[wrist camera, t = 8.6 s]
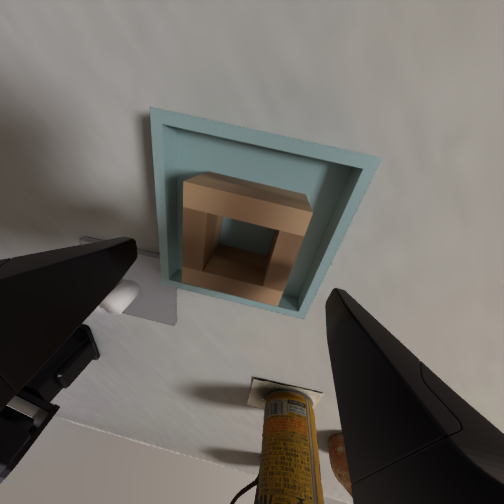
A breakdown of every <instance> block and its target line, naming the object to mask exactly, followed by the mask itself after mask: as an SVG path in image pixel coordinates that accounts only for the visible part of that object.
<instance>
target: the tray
mask: <svg viewBox="0 0 504 504" xmlns="http://www.w3.org/2000/svg"><path fill="white" fill-rule="evenodd" d="M150 122H151V136H152V151H153V165H154V180H155V194H156V209H157V223H158V238H159V252H160V267H161V281H162V284H163V285H167V286H172V287H176V288H180V289H184V290H188V291H192V292H196V293H200V294H204V295H208V296H212V297H216V298H220V299H224V300H228V301H232V302H236V303H240V304H244V305H248V306H252V307H256V308H260V309H264V310H268V311H272V312H276V313H280V314H284V315H288V316H292V317H296V318H300V319H304V318H305V316H306V314H307V312H308V310H309V308H310V306H311V304H312V302H313V300H314V298H315V295H316V293H317V291H318V289H319V287H320V285H321V283H322V281H323V279H324V277H325V275H326V273H327V271H328V269H329V267H330V265H331V263H332V260H333V258H334V256H335V254H336V252H337V250H338V248H339V246H340V244H341V242H342V240H343V238H344V236H345V234H346V232H347V230H348V228H349V226H350V223H351V221H352V219H353V217H354V215H355V213H356V211H357V209H358V207H359V205H360V203H361V201H362V199H363V197H364V195H365V193H366V191H367V189H368V186H369V184H370V182H371V180H372V178H373V176H374V174H375V172H376V170H377V168H378V166H379V164H380V162H381V160H382V158H381V157H376V156H372V155H367V154H363V153H358V152H353V151H349V150H344V149H340V148H335V147H331V146H326V145H322V144H317V143H313V142H308V141H304V140H299V139H294V138H290V137H285V136H281V135H276V134H272V133H267V132H263V131H258V130H254V129H249V128H244V127H240V126H235V125H231V124H226V123H222V122H217V121H213V120H208V119H204V118H199V117H194V116H190V115H185V114H181V113H176V112H172V111H167V110H163V109H158V108H154V107H150ZM209 171H210V172H214V173H219V174H223V175H227V176H231V177H235V178H240V179H244V180H248V181H252V182H256V183H261V184H265V185H269V186H273V187H277V188H281V189H286V190H290V191H294V192H298V193H302V194H306V196H307V199H308V201H309V203H310V206H311V208H312V211H313V215H312V217H311V220H310V223H309V225H308V228H307V231H306V233H305V236H304V239H303V241H302V244H301V247H300V249H299V252H298V254H297V257H296V260H295V262H294V265H293V268H292V270H291V273H290V276H289V278H288V281H287V284H286V286H285V289H284V291H283V294H282V297H281V299H280V302H279V305H278V306H274V305H270V304H266V303H262V302H258V301H254V300H250V299H246V298H242V297H238V296H234V295H230V294H227V293H223V292H219V291H215V290H211V289H207V288H203V287H199V286H195V285H191V284H187V283H183V282H182V243H183V181H186V180H188V179H191V178H193V177H196V176H198V175H201V174H203V173H206V172H209ZM274 231H275V229H272V228H268V227H264V226H260V225H255V224H251V223H247V222H243V221H239V220H235V219H231V218H227V217H223V222H222V229H221V237H220V244H222V245H226V246H230V247H234V248H238V249H242V250H246V251H250V252H254V253H258V254H262V255H266V256H268V252H269V249H270V245H271V242H272V238H273V235H274Z"/></svg>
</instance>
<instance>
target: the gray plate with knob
mask: <svg viewBox="0 0 504 504" xmlns="http://www.w3.org/2000/svg"><path fill="white" fill-rule="evenodd" d="M99 241H102V240H98V239H94V238H90V237H83V238H81V239H79V242H80V245H83V244H88V243H94V242H99ZM137 253H138V256H137V259H136V261H135V262H134V263H133V265H132V266H131V267H130V269H129V270H128V271H127V273H126V274H125V275H124V277H123V278H122V279H121V281H120V282H119V283H118V284H117V286H116V287H115V288H114V289H113V290H112V291H111V292H110V294H109V295H108V296H107V297H106V298H105V299H104V300H103V301H102V302H101V303H100V304H99V306H100V307H101V308H104V309H105V310H106V311H108V312H110V313H112V314H121V313H125V314H128V315H132V316H136V317H140V318H144V319H148V320H152V321H156V322H160V323H164V324H168V325H172V326H175V324H176V322H177V295H176V287H172V286H167V285H163V284H162V281H161V267H160V255H159V254H155V253H151V252H147V251H143V250H139V249H137Z"/></svg>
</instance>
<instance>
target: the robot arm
mask: <svg viewBox="0 0 504 504" xmlns="http://www.w3.org/2000/svg"><path fill="white" fill-rule="evenodd" d="M137 256H138V253H137V246H136V241H135V240H134V239H132V238H128V237H121V238H115V239H110V240H105V241H99V242H94V243H88V244H83V245H78V246H72V247H67V248H62V249H56V250H51V251H45V252H40V253H35V254H29V255H24V256H19V257H13V258H12V259H11V258H8V259H2V260H0V483H1V482H2V481H3V480H4V479H5V478H6V477H7V476H8V475H9V473H10V472H11V471H12V470H13V469H14V468H15V466H16V465H17V464H18V463H19V461H20V460H21V458H23V456H24V455H25V453H26V452H27V451H28V450H29V448H30V447H31V446H32V444H33V443H34V441H35V440H36V439H37V438H38V436H39V435H40V434H41V432H42V431H43V429H44V428H45V427H46V426H47V424H48V423H49V421H50V420H51V419H52V417H53V416H54V415H55V413H56V412H57V411H58V409H59V408H60V406H58V405H56V404H55V405H53V404H52V403H50V402H51V401H52V400H53V399H54V397H55V396H56V395H57V394H58V393H59V392H60V391H61V390H62V389H63V388H67V387H69V386H70V385H71V383H72V382H73V381H74V380H75V379H76V378H77V377H78V375H79V374H80V373H81V372H82V371H83V370H84V369H85V368H86V366H87V365H88V364H89V363H90V362H91V361H92V360H98V358H99V357H100V355H99V352H98V349H97V347H96V344H95V341H94V339H93V336H92V333H91V331H90V329H89V328H88V327H86V326H83V325H81V324H82V323H83V322H84V321H85V319H86V318H87V317H88V316H89V315H90V314H91V313H92V312H93V311H94V310H95V309H96V308H97V306H98V305H99V304H100V303H101V302H102V301H103V300H104V299H105V298H106V297H107V296H108V295H109V294H110V292H111V291H112V290H113V289H114V288H115V287H116V286H117V284H118V283H119V282H120V281H121V279H122V278H123V277H124V275H125V274H126V273H127V271H128V270H129V269H130V267H131V266H132V265H133V263H134V262H135V261H136V259H137ZM325 308H326V330H327V342H328V348H329V354H330V361H331V367H332V373H333V379H334V385H335V391H336V397H337V404H338V410H339V416H340V422H341V428H342V434H343V440H344V446H345V453H346V459H347V465H348V471H349V477H350V483H351V484H352V485H351V491H352V497H353V503H354V504H504V434H503V433H502V432H501V431H500V430H499V429H498V428H496V427H495V426H494V425H493V424H492V423H490V422H489V421H488V420H487V419H486V418H485V417H483V416H482V415H481V414H480V413H479V412H478V411H476V410H475V409H474V408H473V407H472V406H471V405H469V404H468V403H467V402H466V401H465V400H464V399H462V398H461V397H460V396H459V395H458V394H457V393H456V392H454V391H453V390H452V389H451V388H450V387H449V386H448V385H446V384H445V383H444V382H443V381H442V380H441V379H440V378H439V377H438V376H437V375H435V374H434V373H433V372H432V371H431V370H430V369H429V368H428V367H427V366H426V365H425V364H424V363H423V362H421V361H419V359H418V358H417V357H416V356H415V355H414V354H413V353H412V352H411V351H409V350H408V349H407V348H406V347H405V346H404V345H403V344H402V343H401V342H400V341H399V340H398V339H397V338H395V337H394V336H393V335H392V334H391V333H390V332H389V331H388V330H387V329H386V328H385V327H384V326H383V325H381V324H380V323H379V322H378V321H377V320H376V319H375V318H374V317H373V316H372V315H371V314H370V313H369V312H367V311H366V310H365V309H364V308H363V307H362V306H361V305H360V304H359V303H358V302H357V301H356V300H355V299H353V298H352V297H351V296H350V295H349V294H348V293H347V292H346V291H345V290H342V289H338V288H334V289H333V290H332V292H331V294H330V296H329V297H328V299H327V301H326V306H325ZM6 405H9V406H11V407H13V408H15V409H17V410H19V411H21V412H23V413H25V414H27V415H29V416H31V417H32V418H31V417H29V416H27V415H25V414H23V413H21V412H19V411H17V410H14V409H12V408H10V407H8V406H6Z"/></svg>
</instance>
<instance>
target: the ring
mask: <svg viewBox="0 0 504 504" xmlns="http://www.w3.org/2000/svg"><path fill="white" fill-rule="evenodd" d="M312 215H313V211H312V208H311V206H310V203H309V201H308V199H307V196H306V194H302V193H298V192H294V191H290V190H286V189H281V188H277V187H273V186H269V185H265V184H261V183H256V182H252V181H248V180H244V179H240V178H235V177H231V176H227V175H223V174H219V173H214V172H210V171H209V172H206V173H203V174H201V175H198V176H196V177H193V178H191V179H188V180H186V181H183V243H182V282H183V283H187V284H191V285H195V286H199V287H203V288H207V289H211V290H215V291H219V292H223V293H227V294H230V295H234V296H238V297H242V298H246V299H250V300H254V301H258V302H262V303H266V304H270V305H274V306H278V305H279V302H280V299H281V297H282V294H283V291H284V289H285V286H286V284H287V281H288V278H289V276H290V273H291V270H292V268H293V265H294V262H295V260H296V257H297V254H298V252H299V249H300V247H301V244H302V241H303V239H304V236H305V233H306V231H307V228H308V225H309V223H310V220H311V217H312ZM223 217H227V218H231V219H235V220H239V221H243V222H247V223H251V224H255V225H260V226H264V227H268V228H272V229H275V231H274V235H273V238H272V242H271V245H270V249H269V252H268V256H266V255H262V254H258V253H254V252H250V251H246V250H242V249H238V248H234V247H230V246H226V245H222V244H220V237H221V229H222V222H223Z"/></svg>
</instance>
